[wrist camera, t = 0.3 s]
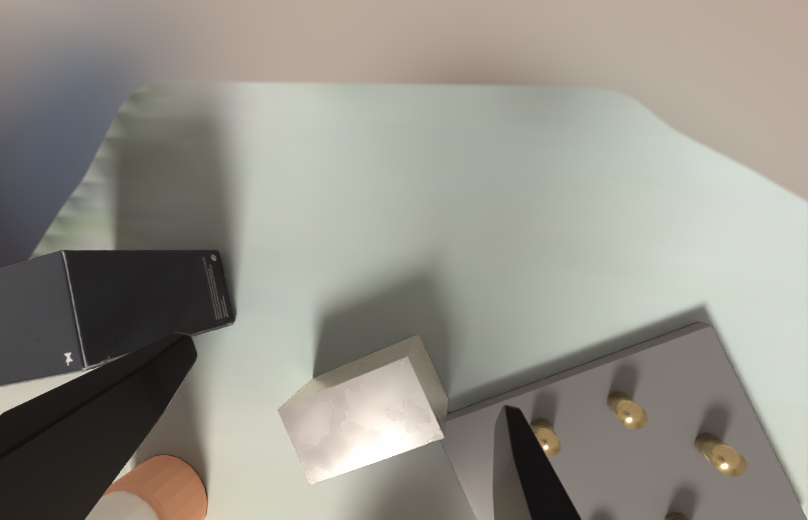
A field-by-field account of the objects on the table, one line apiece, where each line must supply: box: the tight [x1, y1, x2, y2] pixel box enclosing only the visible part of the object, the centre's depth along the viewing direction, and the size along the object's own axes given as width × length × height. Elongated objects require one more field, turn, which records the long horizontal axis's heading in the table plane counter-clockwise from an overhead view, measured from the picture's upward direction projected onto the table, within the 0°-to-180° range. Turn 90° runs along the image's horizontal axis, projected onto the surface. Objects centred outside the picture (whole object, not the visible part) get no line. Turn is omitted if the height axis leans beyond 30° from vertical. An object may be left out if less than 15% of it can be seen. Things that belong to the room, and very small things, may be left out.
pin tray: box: [440, 322, 807, 520], centre depth 20 cm, size 13×18×3 cm
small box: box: [0, 250, 234, 387], centre depth 22 cm, size 11×6×10 cm, turn 103°
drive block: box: [278, 334, 448, 485], centre depth 22 cm, size 5×9×5 cm, turn 115°
